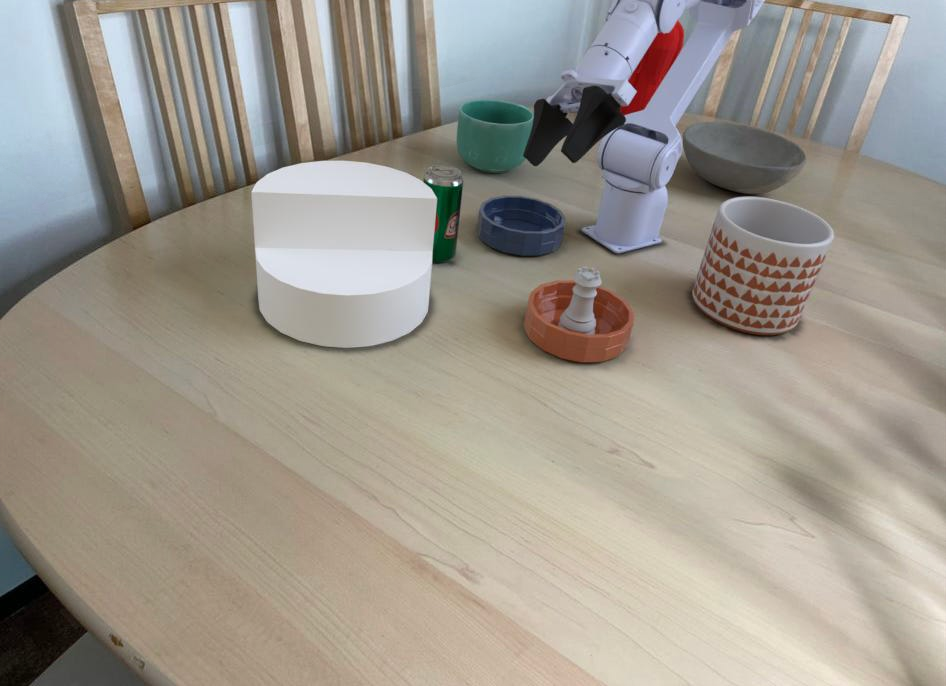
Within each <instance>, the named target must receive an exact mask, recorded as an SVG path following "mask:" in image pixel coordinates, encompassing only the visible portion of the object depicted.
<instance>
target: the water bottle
mask: <svg viewBox="0 0 946 686" xmlns="http://www.w3.org/2000/svg"><path fill="white" fill-rule="evenodd" d="M684 41H685V29H684V27H683V25H682V24H681V22H680V21H679V19H678V20H677V22H676V24H675V25H674V27H673V28H672V30H671V31H670V32H669V33H662V32H660V33H657V35H656V37H655V38H654V40H653V42H652V43H651V45H650V46H649V48H648V49H647V51H646V53H645V54H644V56H643V57H642V59H641V60H640V62H639V64H638V65H637V67H636V68H635V70H634V72H633V73H632V75H631V76H630V78H629V80H628V82H629V83H630V84H631V85H632V87H633V88H634V89H635V90H636V91H637V92H636V94H635V95H634V97H633V99H632V100H631V102H630V103H629V105H628V106H621V107H620V108H621V110H620V112H621V113H622V114H623V115H627V114H631V113H635V112H638V111H641V110H644V109H645V108H646V106H647V104H648V103H649V101H650V100H651V98H652V96H653V95H654V93H655V92H656V90H657V89H658V87H659V85H660V84H661V82H662V81H663V79H664V77H665V76H666V74H667V73H668V71H669V70H670V68H671V66H672V65H673V63H674V62H675V60H676V58H677V57H678V55H679V54H680V52H681V51H682V49H683V47H684Z"/></svg>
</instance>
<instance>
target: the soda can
mask: <svg viewBox="0 0 946 686" xmlns="http://www.w3.org/2000/svg"><path fill="white" fill-rule="evenodd" d="M422 182H424V183H425V184H426V185H427V186H429V187H430V188H431V189H432V190H433V192H434V194H435V196H436V197H437V207H436V218H435V230H434V241H433V255H432V263H434V264H444V263H448V262H451V260H453V259H454V258H455V257H456V255H457V247H458V246H457V245H458V238H459V237H458V236H459V227H460V218H461V209H462V199H463V191H464V178H463V177H462V171H461V170H460V169H459V168H457V167H454V166H452V165H446V164H435V165H430V166H429V167H427V169H426V173H425V174H424V176H423V180H422Z"/></svg>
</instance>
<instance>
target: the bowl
mask: <svg viewBox="0 0 946 686" xmlns="http://www.w3.org/2000/svg"><path fill="white" fill-rule="evenodd" d="M682 149H683V151H684V155H685V157H686V160H687V162H688V164H689V166H690V167H691V168H692V170H693V171H694V172H695V173H696V174H697V175H698V176H699V177H700V178H702V179H703V180H704V181H707V182H708V183H710V184H712V185H714V186H716V187H719V188H721V189H725V190H729V191H731V192H735V193H739V194H746V195H761V194H762V195H763V194H765V193H770V192H773V191H775V190H777V189H779V188H781V187H783V186H785V185H787V184H788V183H790V182H792V181H793V179H795V178H796V177H797V176H798V175H799V174H800V173H801V172H802V171H803V169H804V167H805V165H806V163H807V155H806V153H805V151H804V150H803V148H801V147H800V146H799V144H797V143H795V142H793V141H791V140H790V139H788V138H787V137H784V136H782V135H781V134H777V133H774V132H772V131H769V130H766V129H763V128H759V127H756V126H755V127H754V126H750V125H745V124H740V123H734V122H727V121H705V122H704V121H703V122H697V123H693V124H691V125H689V126H687V127H686V128H685V129H684V131H683V133H682Z"/></svg>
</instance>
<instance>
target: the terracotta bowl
mask: <svg viewBox="0 0 946 686" xmlns="http://www.w3.org/2000/svg"><path fill="white" fill-rule="evenodd" d="M575 285H576V283H575V282H574V280H573V279H572V280H571V279H568V280H567V279H565V280H553V281H548V282H545V283H542V284H539V285H538V286H537V287H535V288H534V289H533V290H532V291H530V293H529V296H528V300H527V306H526V312H525V317H524V323H523V328H524V331H525V333H526V335H527V337H528V339H529V340H530V341H532V343H534V344H535V345H536V346H537V347H538V348H540V349H541V350H542V351H544V352H547V353H549V354H551V355H552V356H556V357H557V358H560V359H563V360H567V361H573V362H578V363H601V362H606V361H608V360H611V359H615V358H618V357H620V355H621V354H622V353H623V352H624V351H625V350H626V349H627V348H628V345H629V342H630V337H631V334H632V331H633V328H634V323H635V311H634V310H633V309H632V307H631V306H630V304H629V302H628V301H627V300H626V299H625V298H623V297H622V296H620V295H619V294H617V293H616V292H614V291H613V290H611V289H608V288H606V287H603V286H601V285H600V286H598V287H597V288H596V291H597V295H596V296H595V297H594V301H593V313H594V318H595V319H596V327H595V334H590V335H588V334H582V333H577V332H572V331H568V330H565V329H563V328H561V327H558V323H559V322H560V316H561V315H562V313H563V312H564V311H565V310H566V309H567V308H568V307H569V305H570V302H571V300H572V297H573V293H574V292H573V287H574V286H575Z"/></svg>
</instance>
